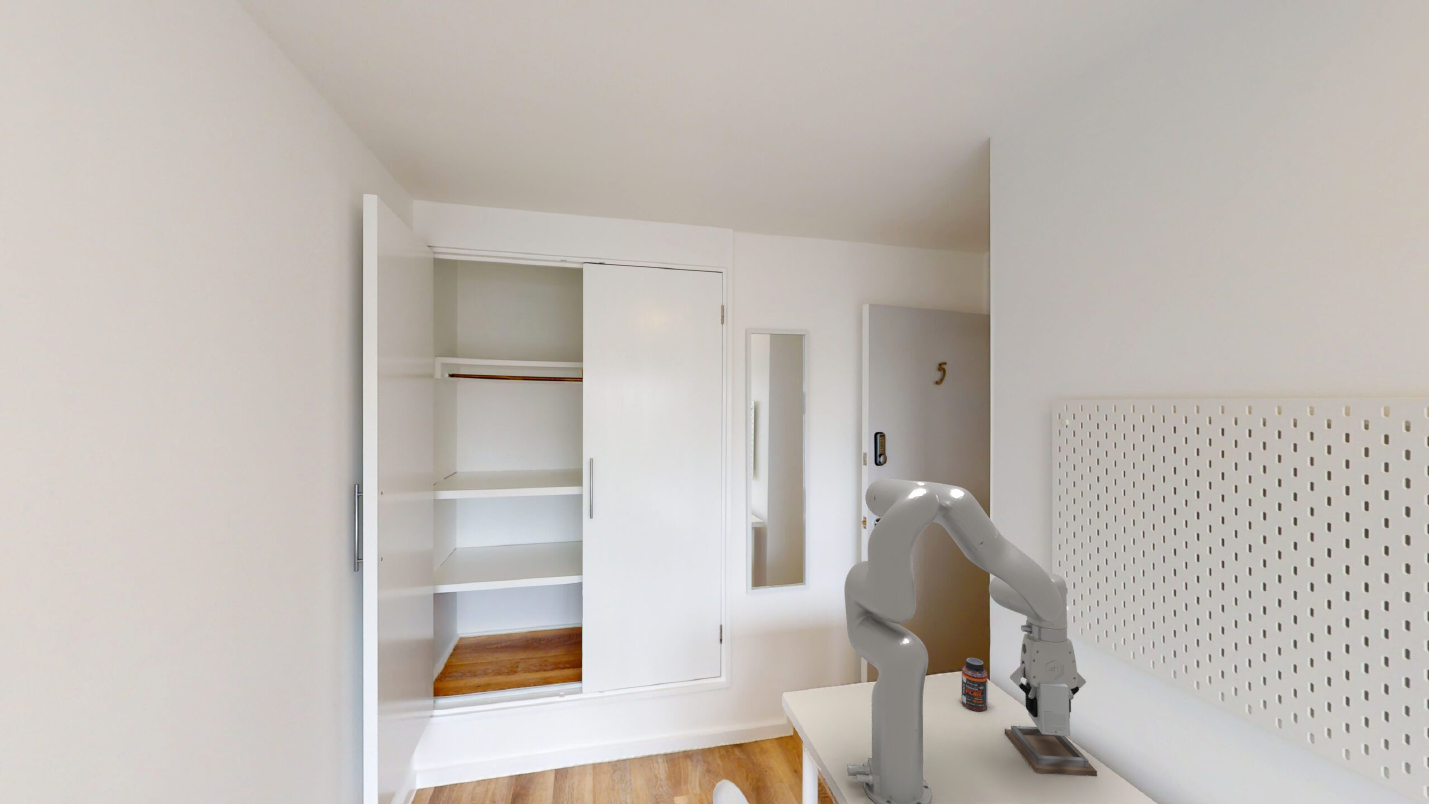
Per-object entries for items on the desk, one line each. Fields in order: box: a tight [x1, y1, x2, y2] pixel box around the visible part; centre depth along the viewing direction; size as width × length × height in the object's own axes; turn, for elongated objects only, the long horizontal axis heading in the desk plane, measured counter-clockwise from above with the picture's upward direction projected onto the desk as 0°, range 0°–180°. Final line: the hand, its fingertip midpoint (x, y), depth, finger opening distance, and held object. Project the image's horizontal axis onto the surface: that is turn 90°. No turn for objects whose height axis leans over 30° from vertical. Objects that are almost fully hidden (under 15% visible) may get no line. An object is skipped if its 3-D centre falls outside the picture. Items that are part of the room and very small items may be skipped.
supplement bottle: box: [961, 657, 989, 712], centre depth 139 cm, size 6×6×11 cm
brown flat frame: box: [1004, 725, 1098, 777], centre depth 119 cm, size 12×14×2 cm
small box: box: [1027, 683, 1071, 737], centre depth 119 cm, size 8×6×10 cm
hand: (1048, 713), depth 119 cm, fingers closed on small box, 6 cm apart
